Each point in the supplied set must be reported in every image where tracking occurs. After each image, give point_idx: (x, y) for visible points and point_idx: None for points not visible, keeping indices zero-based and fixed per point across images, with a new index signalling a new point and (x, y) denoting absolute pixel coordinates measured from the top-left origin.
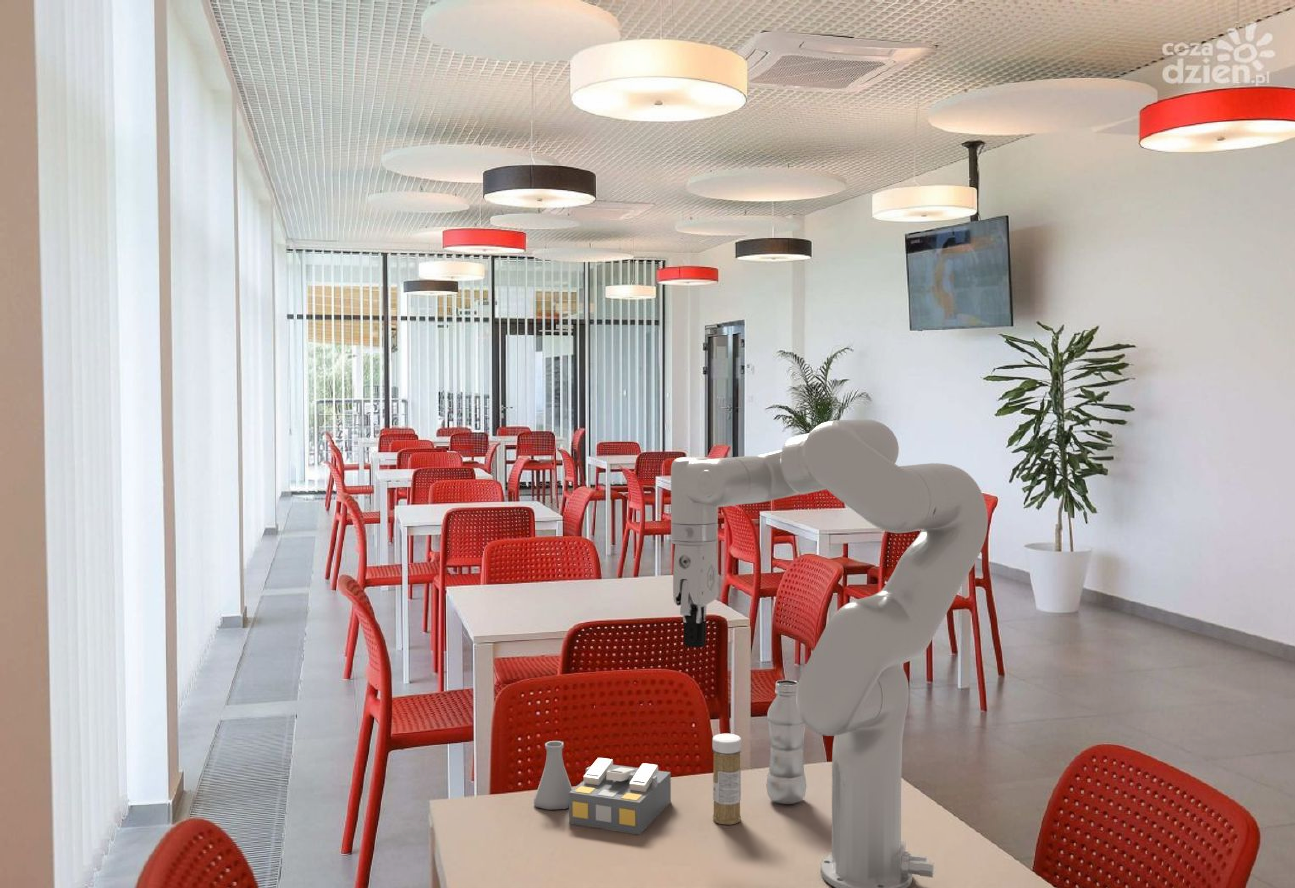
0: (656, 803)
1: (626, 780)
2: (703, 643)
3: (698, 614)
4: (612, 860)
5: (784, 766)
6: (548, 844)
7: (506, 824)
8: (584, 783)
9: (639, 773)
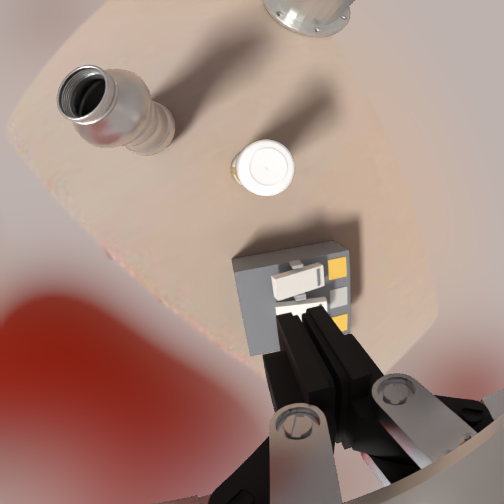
0: (286, 254)
1: None
2: (312, 313)
3: (444, 407)
4: (391, 231)
5: (162, 113)
6: (382, 301)
7: None
8: None
9: (301, 288)
